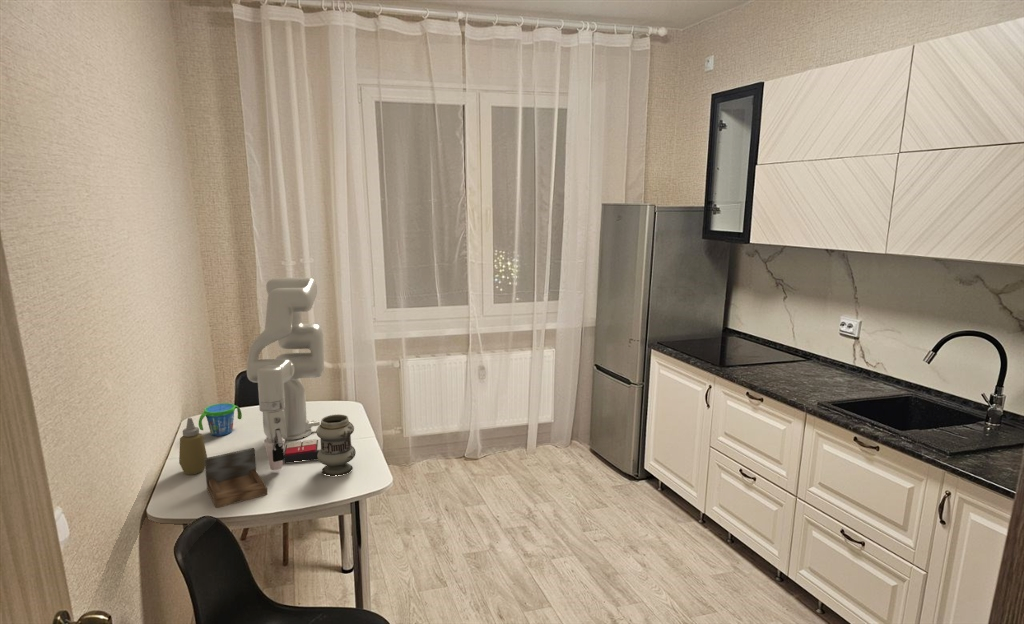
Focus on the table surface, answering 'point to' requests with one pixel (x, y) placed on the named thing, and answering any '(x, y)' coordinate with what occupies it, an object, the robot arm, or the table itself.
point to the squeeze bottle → (192, 450)
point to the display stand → (233, 477)
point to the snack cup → (220, 418)
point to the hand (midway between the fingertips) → (275, 456)
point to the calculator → (302, 450)
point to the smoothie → (269, 449)
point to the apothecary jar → (335, 444)
